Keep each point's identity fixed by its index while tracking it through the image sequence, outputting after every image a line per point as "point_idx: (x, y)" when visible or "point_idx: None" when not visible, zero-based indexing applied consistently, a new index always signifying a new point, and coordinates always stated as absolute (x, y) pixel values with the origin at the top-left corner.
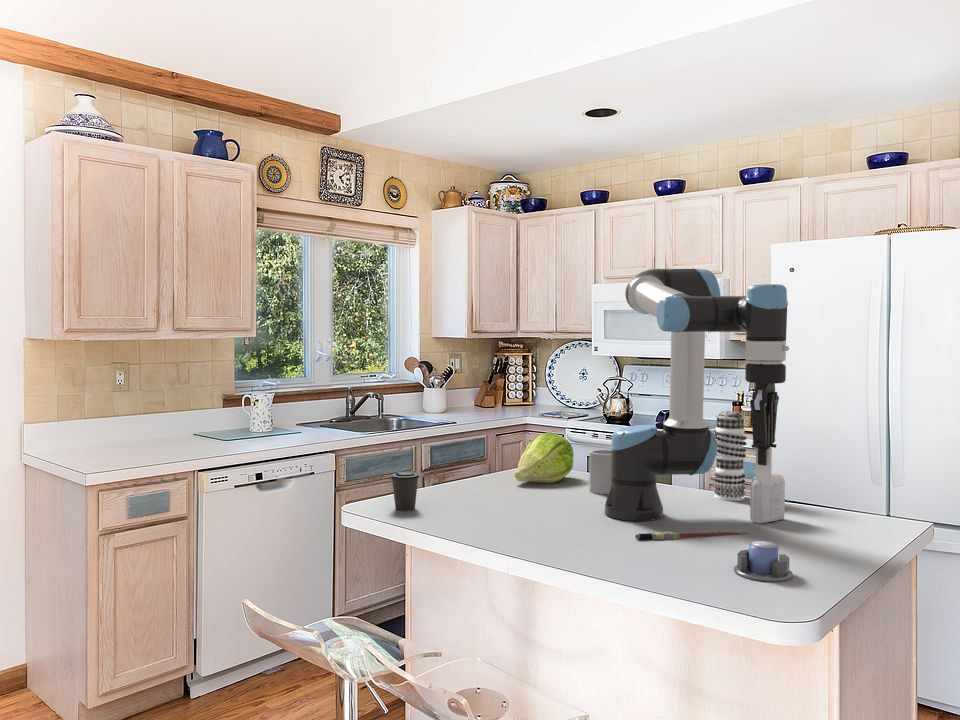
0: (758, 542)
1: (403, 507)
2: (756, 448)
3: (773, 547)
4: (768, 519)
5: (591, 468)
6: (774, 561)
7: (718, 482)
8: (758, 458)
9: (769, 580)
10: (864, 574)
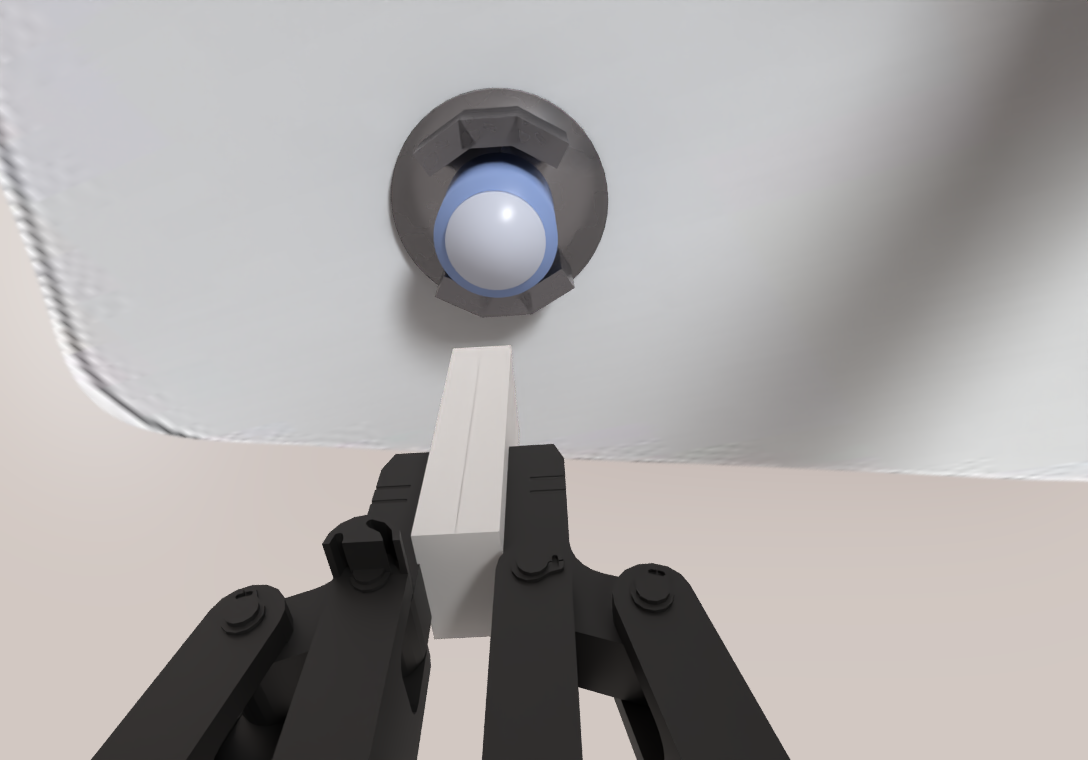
0: (506, 216)
1: None
2: (412, 535)
3: (483, 286)
4: None
5: None
6: (448, 284)
7: None
8: (373, 500)
9: (411, 257)
10: (684, 452)
